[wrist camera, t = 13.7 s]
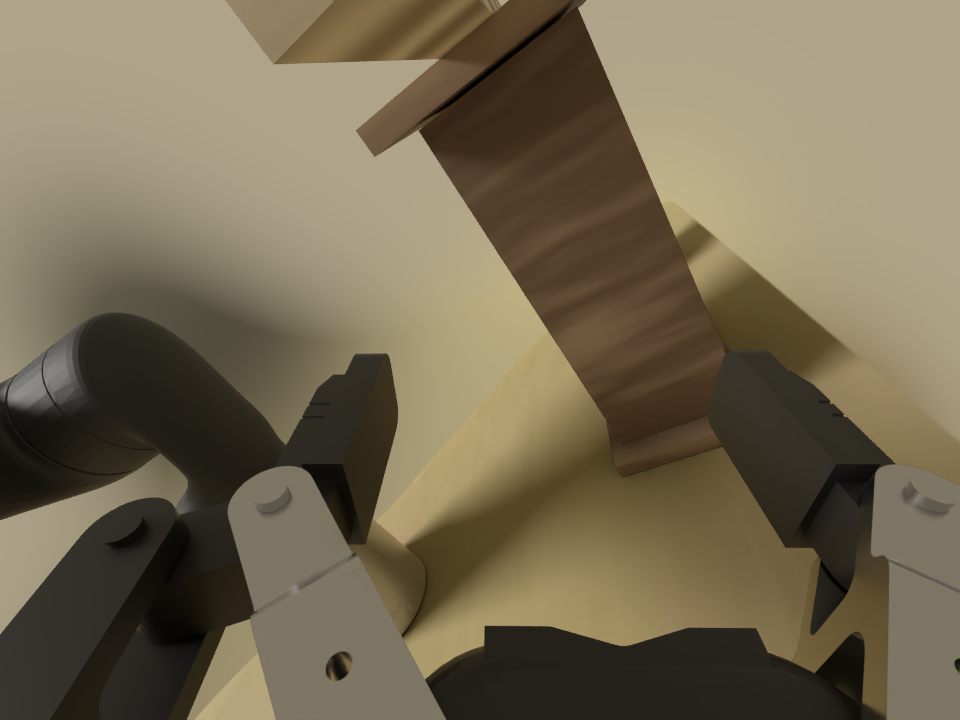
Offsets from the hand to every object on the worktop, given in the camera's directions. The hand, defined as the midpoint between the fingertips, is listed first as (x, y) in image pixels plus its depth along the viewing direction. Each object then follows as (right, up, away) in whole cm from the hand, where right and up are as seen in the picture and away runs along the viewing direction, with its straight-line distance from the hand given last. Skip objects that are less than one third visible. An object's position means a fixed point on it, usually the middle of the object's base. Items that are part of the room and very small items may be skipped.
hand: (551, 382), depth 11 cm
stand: (+16, -2, +31) cm, 35 cm away
